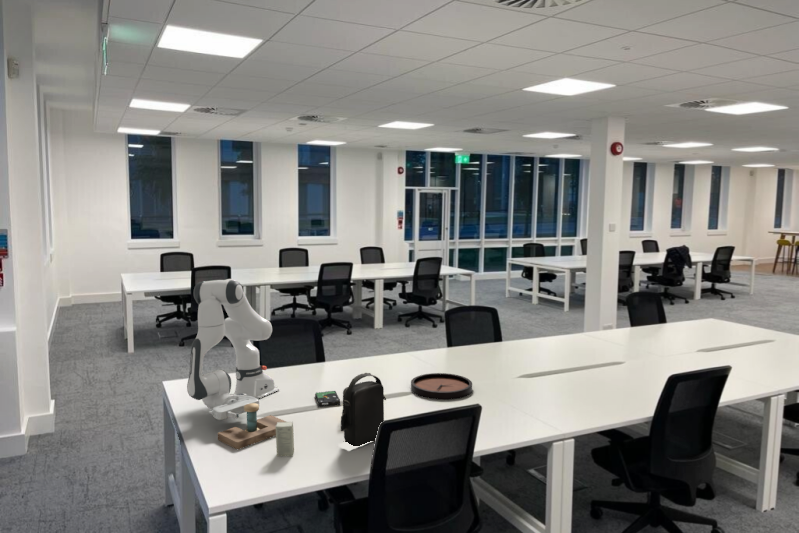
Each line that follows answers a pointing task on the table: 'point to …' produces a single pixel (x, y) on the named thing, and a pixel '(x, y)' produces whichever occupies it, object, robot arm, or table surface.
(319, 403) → the disk drive
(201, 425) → the table surface
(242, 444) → the notched board
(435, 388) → the wall clock
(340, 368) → the table surface
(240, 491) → the table surface
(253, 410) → the bobbin
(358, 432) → the shoulder bag
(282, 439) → the skincare box
